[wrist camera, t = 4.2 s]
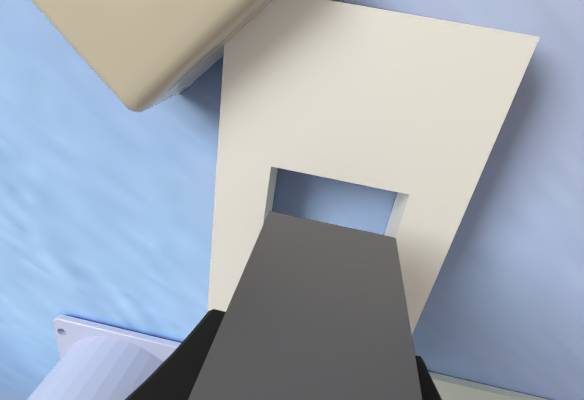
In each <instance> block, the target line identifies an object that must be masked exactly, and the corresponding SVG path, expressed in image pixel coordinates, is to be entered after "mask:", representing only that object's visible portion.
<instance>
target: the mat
mask: <svg viewBox="0 0 584 400" xmlns="http://www.w3.org/2000/svg"><path fill="white" fill-rule="evenodd" d="M428 372H429V371H428ZM429 374H430V376H431V378H432V380H433V382H434V384H435V386H436V388H437V390H438V392H439V394H440V397H441V399H442V400H549V399H544V398H540V397H536V396H531V395H527V394H523V393H519V392H514V391H510V390H506V389H502V388H497V387H493V386H489V385H484V384H480V383H476V382H472V381H467V380H463V379H459V378H455V377H450V376H446V375H442V374H437V373H433V372H429Z"/></svg>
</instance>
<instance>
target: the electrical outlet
mask: <svg viewBox="0 0 584 400" xmlns="http://www.w3.org/2000/svg"><path fill="white" fill-rule="evenodd" d="M31 1H32V2H33V3H34V5H35V6H36V7H37V8H38V9H39V10H40V11H41V12H42V13H43V15H44V16H45V17H46V18H47V19H48V20H49V21H50V22H51V24H52V25H53V26H54V27H55V28H56V29H57V30H58V31H59V32H60V34H61V35H62V36H63V37H64V38H65V39H66V40H67V41H68V43H69V44H70V45H71V46H72V47H73V48H74V49H75V50H76V52H77V53H78V54H79V55H80V56H81V57H82V58H83V59H84V60H85V62H86V63H87V64H88V65H89V66H90V67H91V68H92V69H93V71H94V72H95V73H96V74H97V75H98V76H99V77H100V78H101V80H102V81H103V82H104V83H105V84H106V85H107V86H108V87H109V88H110V90H111V91H112V92H113V93H114V94H115V95H116V96H117V97H118V99H119V100H120V101H121V102H122V103H123V104H124V105H125V106H126V107H127V108H128V109H129V110H132V111H135V112H142V111H144V110H146V109H149V108H151V107H153V106H155V105H157V104H159V103H161V102H163V101H165V100H166V99H168V98H170V97H172V96H174V95H176V94H178V93H180V92H182V91H184V90H185V89H186V88H188V87H189V86H190V85H191V84H192V83H193V82H194V81H195V80H196V79H198V78H199V77H200V76H201V75H202V74H203V73H204V72H205V71H207V70H208V69H209V68H210V67H211V66H212V65H213V64H214V63H216V62H217V61H218V60H219V59H220V58H221V57H222V56H223V55H224V44H225V43H227V42H228V41H229V40H230V39H231V38H232V37H233V36H234V35H235V34H237V33H238V32H239V31H240V30H241V29H242V28H243V27H244V26H245V25H246V24H248V23H249V22H250V21H251V20H252V19H253V18H254V17H255V16H256V15H257V14H259V13H260V12H261V11H262V10H263V9H264V8H265V7H266V6H267V5H268V4H270V3H271V2H272V1H273V0H31Z"/></svg>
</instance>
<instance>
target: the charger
mask: <svg viewBox="0 0 584 400" xmlns="http://www.w3.org/2000/svg"><path fill="white" fill-rule="evenodd" d="M188 400H422V395H421V389H420V383H419V377H418V371H417V364H416V358H415V352H414V346H413V340H412V334H411V328H410V322H409V315H408V309H407V303H406V297H405V291H404V285H403V279H402V273H401V266H400V260H399V254H398V248H397V242H396V238H394V237H390V236H385V235H380V234H375V233H371V232H366V231H361V230H357V229H352V228H347V227H342V226H338V225H333V224H328V223H323V222H319V221H314V220H309V219H305V218H300V217H295V216H290V215H286V214H281V213H276V212H272V211H269V213H268V215H267V217H266V220H265V222H264V224H263V227H262V229H261V231H260V234H259V236H258V238H257V241H256V243H255V245H254V248H253V250H252V252H251V255H250V257H249V259H248V261H247V264H246V266H245V268H244V271H243V273H242V275H241V278H240V280H239V282H238V285H237V287H236V289H235V292H234V294H233V296H232V299H231V301H230V303H229V306H228V308H227V310H226V313H225V315H224V317H223V320H222V322H221V324H220V327H219V329H218V331H217V334H216V336H215V338H214V341H213V343H212V345H211V348H210V350H209V352H208V355H207V357H206V359H205V362H204V364H203V366H202V369H201V371H200V373H199V376H198V378H197V380H196V382H195V385H194V387H193V389H192V392H191V394H190V396H189V399H188Z"/></svg>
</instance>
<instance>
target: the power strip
mask: <svg viewBox="0 0 584 400" xmlns="http://www.w3.org/2000/svg"><path fill="white" fill-rule="evenodd" d="M539 38H540V37H538V36H532V35H527V34H521V33H516V32H510V31H504V30H499V29H493V28H487V27H481V26H476V25H470V24H464V23H458V22H453V21H447V20H441V19H435V18H430V17H424V16H418V15H412V14H407V13H401V12H395V11H389V10H384V9H378V8H372V7H366V6H361V5H355V4H349V3H343V2H338V1H332V0H273V1H272V2H271V3H270V4H268V5H267V6H266V7H265V8H264V9H263V10H262V11H261V12H260V13H259V14H257V15H256V16H255V17H254V18H253V19H252V20H251V21H250V22H249V23H248V24H246V25H245V26H244V27H243V28H242V29H241V30H240V31H239V32H238V33H237V34H235V35H234V36H233V37H232V38H231V39H230V40H229V41H228V42H227V43H225V44H224V56H223V72H222V88H221V104H220V120H219V136H218V152H217V168H216V184H215V200H214V216H213V232H212V248H211V264H210V280H209V296H208V311H210V310H212V309H216V310H220V311H225V312H226V310H227V308H228V306H229V303H230V301H231V299H232V296H233V294H234V292H235V289H236V287H237V285H238V282H239V280H240V278H241V275H242V273H243V271H244V268H245V266H246V264H247V261H248V259H249V257H250V255H251V252H252V250H253V248H254V245H255V243H256V241H257V238H258V236H259V234H260V231H261V229H262V227H263V224H264V222H265V220H266V217H267V215H268V213H269V211H272V205H273V199H274V192H275V185H276V178H277V171H278V168H281V169H286V170H291V171H296V172H301V173H306V174H311V175H316V176H320V177H325V178H330V179H335V180H340V181H345V182H350V183H355V184H360V185H364V186H369V187H374V188H379V189H384V190H389V191H394V192H397V195H396V198H395V202H394V205H393V208H392V211H391V214H390V217H389V220H388V223H387V226H386V230H385V233H384V235H385V236H390V237H394V238H396V242H397V248H398V254H399V260H400V266H401V273H402V279H403V285H404V291H405V297H406V303H407V309H408V315H409V322H410V328H411V334H413V332H414V329H415V327H416V325H417V322H418V320H419V318H420V315H421V313H422V311H423V308H424V306H425V304H426V301H427V299H428V297H429V294H430V292H431V290H432V287H433V285H434V283H435V280H436V278H437V276H438V273H439V271H440V269H441V266H442V264H443V262H444V260H445V257H446V255H447V253H448V250H449V248H450V246H451V243H452V241H453V239H454V236H455V234H456V232H457V229H458V227H459V225H460V222H461V220H462V218H463V215H464V213H465V211H466V208H467V206H468V204H469V201H470V199H471V197H472V194H473V192H474V190H475V187H476V185H477V183H478V180H479V178H480V176H481V173H482V171H483V169H484V166H485V164H486V162H487V159H488V157H489V155H490V152H491V150H492V148H493V145H494V143H495V141H496V138H497V136H498V134H499V131H500V129H501V127H502V124H503V122H504V120H505V117H506V115H507V113H508V110H509V108H510V106H511V103H512V101H513V99H514V96H515V94H516V92H517V89H518V87H519V85H520V82H521V80H522V78H523V75H524V73H525V71H526V68H527V66H528V64H529V61H530V59H531V57H532V54H533V52H534V50H535V47H536V45H537V43H538V40H539Z"/></svg>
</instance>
